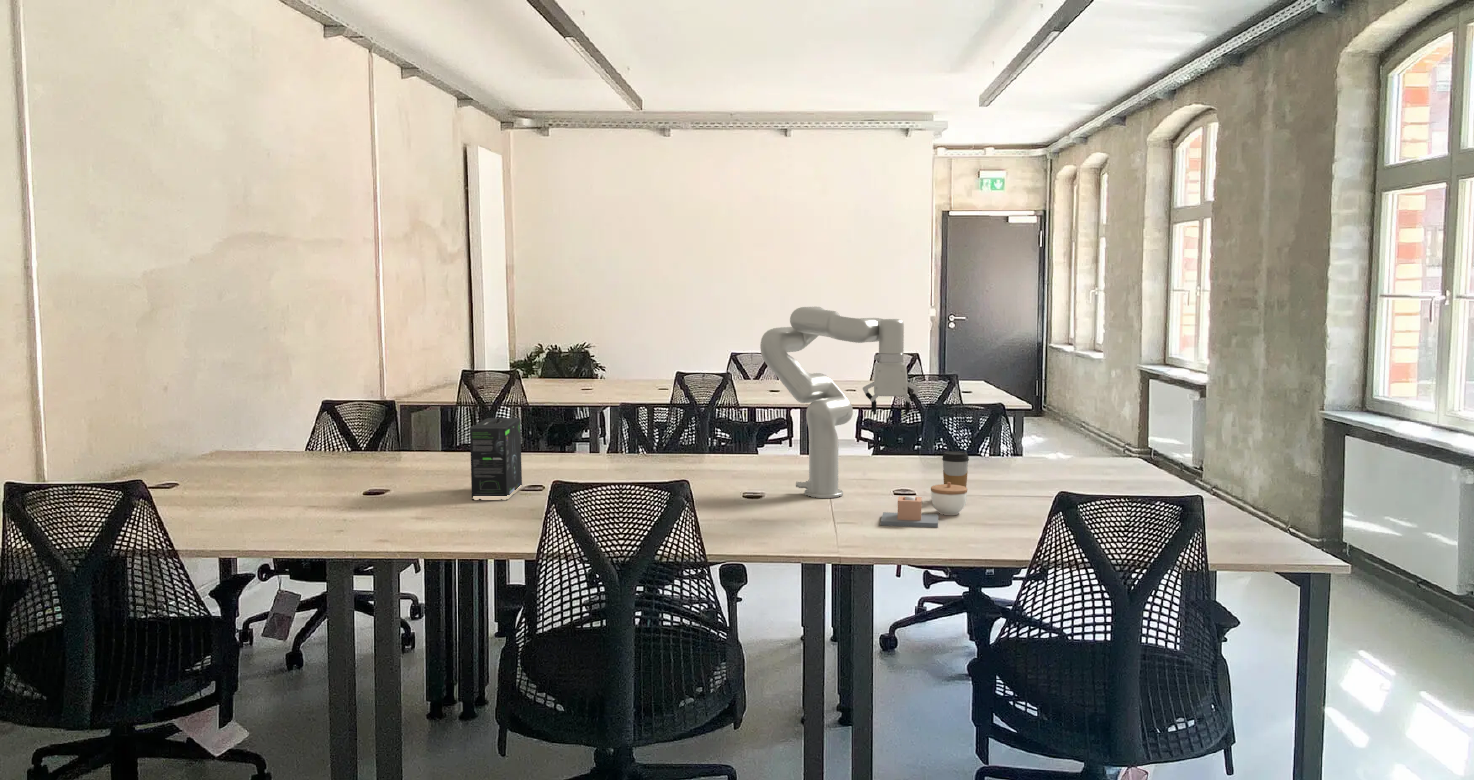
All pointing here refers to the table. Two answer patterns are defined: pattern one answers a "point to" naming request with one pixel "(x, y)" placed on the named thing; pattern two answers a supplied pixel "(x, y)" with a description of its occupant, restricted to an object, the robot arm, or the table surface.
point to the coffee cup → (955, 467)
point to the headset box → (495, 457)
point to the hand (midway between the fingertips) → (890, 414)
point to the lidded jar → (948, 498)
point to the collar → (909, 508)
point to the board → (892, 520)
